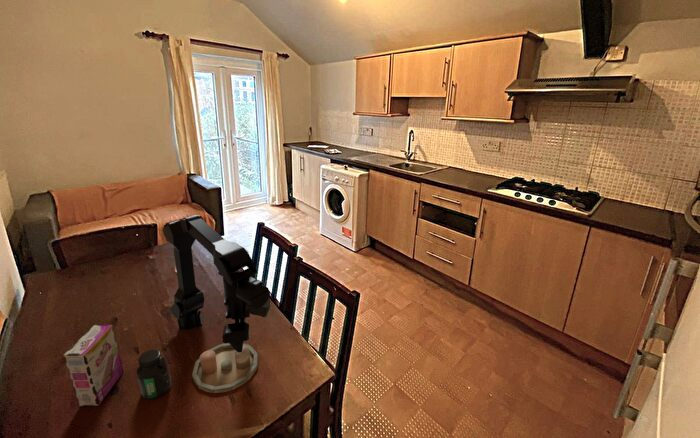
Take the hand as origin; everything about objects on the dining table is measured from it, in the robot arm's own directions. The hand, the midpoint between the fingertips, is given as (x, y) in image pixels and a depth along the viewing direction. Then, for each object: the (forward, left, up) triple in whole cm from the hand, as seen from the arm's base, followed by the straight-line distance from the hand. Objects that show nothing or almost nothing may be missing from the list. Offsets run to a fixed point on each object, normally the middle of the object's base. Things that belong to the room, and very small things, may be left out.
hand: (241, 340), depth 91 cm
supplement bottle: (-22, -4, -10) cm, 24 cm away
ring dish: (-5, 0, -10) cm, 11 cm away
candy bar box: (-36, 0, -10) cm, 37 cm away
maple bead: (0, 0, -9) cm, 9 cm away
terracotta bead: (-9, 0, -9) cm, 13 cm away
